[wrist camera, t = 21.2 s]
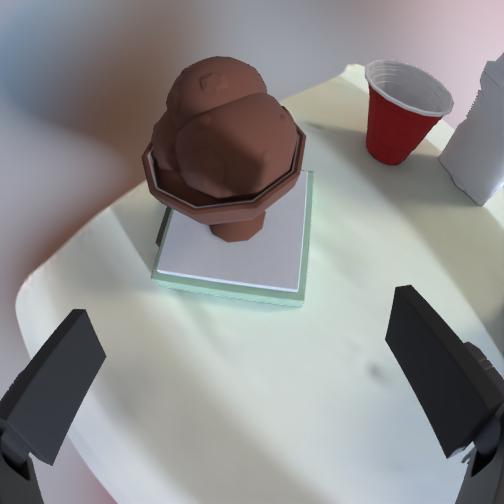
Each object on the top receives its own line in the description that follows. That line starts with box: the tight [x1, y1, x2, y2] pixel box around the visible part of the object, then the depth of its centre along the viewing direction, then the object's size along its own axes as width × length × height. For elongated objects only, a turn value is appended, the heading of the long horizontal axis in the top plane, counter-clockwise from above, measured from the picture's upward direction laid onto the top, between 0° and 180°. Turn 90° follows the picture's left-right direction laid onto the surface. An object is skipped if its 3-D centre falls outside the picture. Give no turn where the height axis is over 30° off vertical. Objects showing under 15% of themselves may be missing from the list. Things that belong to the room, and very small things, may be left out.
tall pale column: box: [439, 53, 504, 206], centre depth 20 cm, size 11×4×22 cm, turn 32°
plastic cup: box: [365, 59, 454, 165], centre depth 27 cm, size 11×11×12 cm
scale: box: [151, 170, 314, 307], centre depth 27 cm, size 15×14×3 cm
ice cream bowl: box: [142, 56, 306, 243], centre depth 19 cm, size 11×11×15 cm
